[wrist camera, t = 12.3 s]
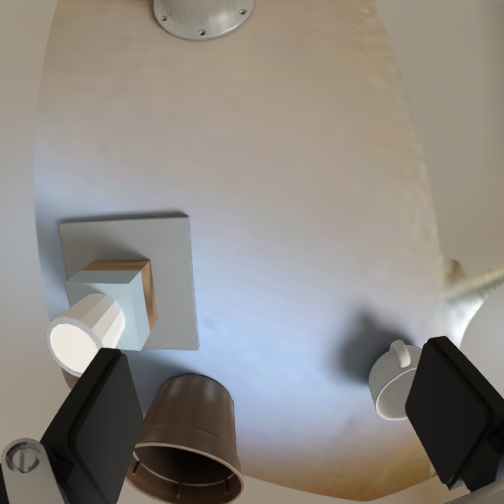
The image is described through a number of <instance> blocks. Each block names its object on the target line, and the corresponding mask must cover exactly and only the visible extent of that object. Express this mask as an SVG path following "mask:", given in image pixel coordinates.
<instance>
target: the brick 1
mask: <svg viewBox="0 0 504 504" xmlns="http://www.w3.org/2000/svg"><path fill="white" fill-rule="evenodd" d="M82 270H89V271H141V277H142V284H143V291H144V298H145V305H146V311H147V317H148V323H149V329H150V332H151V330H152V328H153V326H154V325H155V323H156V321H157V319H158V314H157V307H156V300H155V292H154V284H153V276H152V268H151V260H94V261H93V262H91V263H90V264H89V265H87V266H86V267H85V268H83V269H82Z"/></svg>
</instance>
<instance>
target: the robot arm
mask: <svg viewBox="0 0 504 504" xmlns="http://www.w3.org/2000/svg"><path fill="white" fill-rule="evenodd" d="M153 5H154V13H155V17H156V19H157V20H158V22H159V24H160V25H161V26H162V27H163V29H165V30H166V31H167V32H168V33H170V34H172V35H174V36H176V37H178V38H182V39H185V40H193V41H201V40H210V39H215V38H218V37H221V36H224V35H226V34H228V33H230V32H232V31H234V30H235V29H237V28H238V27H240V26H241V25H242V24H243V23H244V22H245V21H246V20H247V19H248V17H249V16H250V14H251V13H252V10H253V7H254V5H255V0H154V3H153ZM242 13H244V15H242ZM164 20H166V21H164ZM203 33H204V35H202V36H201V34H203ZM405 413H406V415H407V417H408V419H409V420H410V422H411V424H412V426H413V428H414V430H415V432H416V434H417V435H418V437H419V439H420V441H421V443H422V445H423V447H424V449H425V451H426V453H427V455H428V457H429V459H430V461H431V463H432V464H433V466H434V468H435V470H436V472H437V474H438V476H439V478H440V480H441V482H442V483H443V484H446V485H447V487H448V489H449V491H450V490H453V489H455V488H458V487H460V486H462V485H463V484H464V483H465V485H466V487H467V489H466V492H465V495H464V496H462V497H460V498H457V499H455V500H452V501H450V502H447V503H445V504H504V399H503V398H502V396H501V395H500V394H499V393H498V392H497V391H496V390H495V388H494V387H493V386H492V385H491V384H490V383H489V382H488V380H487V379H486V378H485V377H484V376H483V375H482V374H481V373H480V372H479V370H478V369H477V368H476V367H475V366H474V365H473V364H472V363H471V362H470V361H469V360H468V359H467V358H466V356H465V355H464V354H463V353H462V352H461V351H460V350H459V349H458V348H457V347H456V346H455V345H454V344H453V343H452V342H451V341H450V340H449V339H448V338H447V337H446V336H440V337H434V338H430V339H429V340H428V341H427V343H425V344H424V345H423V348H422V352H421V355H420V359H419V362H418V366H417V369H416V373H415V376H414V379H413V382H412V385H411V388H410V391H409V394H408V397H407V400H406V403H405ZM142 425H143V414H142V411H141V408H140V405H139V401H138V398H137V394H136V391H135V387H134V384H133V380H132V376H131V373H130V369H129V365H128V361H127V357H126V355H125V354H121V351H120V350H119V349H116V348H104V347H102V348H100V349H99V351H98V352H97V354H96V355H95V356H94V358H93V359H92V361H91V362H90V364H89V365H88V367H87V368H86V370H85V371H84V373H83V374H82V376H81V377H80V378H79V380H78V381H77V383H76V384H75V386H74V388H73V389H72V391H71V392H70V394H69V395H68V397H67V398H66V400H65V401H64V403H63V405H62V406H61V408H60V409H59V411H58V413H57V414H56V415H55V417H54V419H53V420H52V422H51V423H50V425H49V427H48V428H47V430H46V432H45V433H44V435H43V437H42V439H41V440H40V442H38V441H36V440H33V439H29V438H22V439H17V440H15V441H13V442H11V443H10V444H8V445H7V446H6V448H5V449H4V450H3V452H2V455H1V464H0V504H116V503H117V501H118V498H119V495H120V492H121V489H122V486H123V482H124V479H125V476H126V473H127V470H128V467H129V464H130V461H131V458H132V455H133V452H134V449H135V446H136V443H137V440H138V437H139V434H140V431H141V429H142Z"/></svg>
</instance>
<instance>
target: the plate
mask: <svg viewBox="0 0 504 504" xmlns="http://www.w3.org/2000/svg"><path fill="white" fill-rule="evenodd" d="M59 230H60V237H61V244H62V250H63V256H64V262H65V268H66V273H67V278H68V280H69V279H70V278H71V277H73V276H74V275H75V274H77V273H78V272H79V271H81V270H82V269H83V268H85V267H86V266H87V265H89V264H90V263H91V262H93V261H94V260H151V268H152V276H153V284H154V292H155V300H156V307H157V314H158V319H157V321H156V323H155V325H154V326H153V328H152V330H151V332H150V334H149V336H148V338H147V340H146V342H145V344H144V346H143V348H148V349H169V350H199V346H200V344H199V335H198V325H197V315H196V304H195V293H194V281H193V268H192V255H191V240H190V223H189V216H180V217H154V218H132V219H113V220H95V221H79V222H64V223H61V224H59Z"/></svg>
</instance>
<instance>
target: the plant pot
mask: <svg viewBox="0 0 504 504" xmlns="http://www.w3.org/2000/svg"><path fill="white" fill-rule="evenodd" d="M124 480H125V481H126V482H127V483H128V484H130V485H131V486H132V487H133V488H135V489H136V490H137V491H139V492H141V493H142V494H144V495H146V496H148V497H150V498H152V499H154V500H157V501H160V502H162V503H165V504H231V503H233V502H235V501H236V500H238V499H239V498H240V497H241V495H243V493H244V491H245V480H244V477H243V475H242V474H241V468H240V460H239V457H238V455H237V448H236V434H235V418H234V402H233V400H232V398H231V396H230V394H229V392H228V391H227V390H226V389H225V388H224V387H223V386H222V385H221V384H219V383H218V382H216V381H214V380H212V379H210V378H207V377H204V376H200V375H193V374H185V375H183V376H180V377H172V378H170V379H168V380H167V381H165V382H164V383H163V385H162V386H161V387H160V389H159V391H158V393H157V395H156V397H155V399H154V401H153V403H152V405H151V406H150V408H149V410H148V412H147V414H146V416H145V418H144V420H143V425H142V429H141V431H140V434H139V437H138V440H137V443H136V446H135V449H134V452H133V455H132V458H131V461H130V464H129V467H128V470H127V473H126V476H125V479H124Z"/></svg>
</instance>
